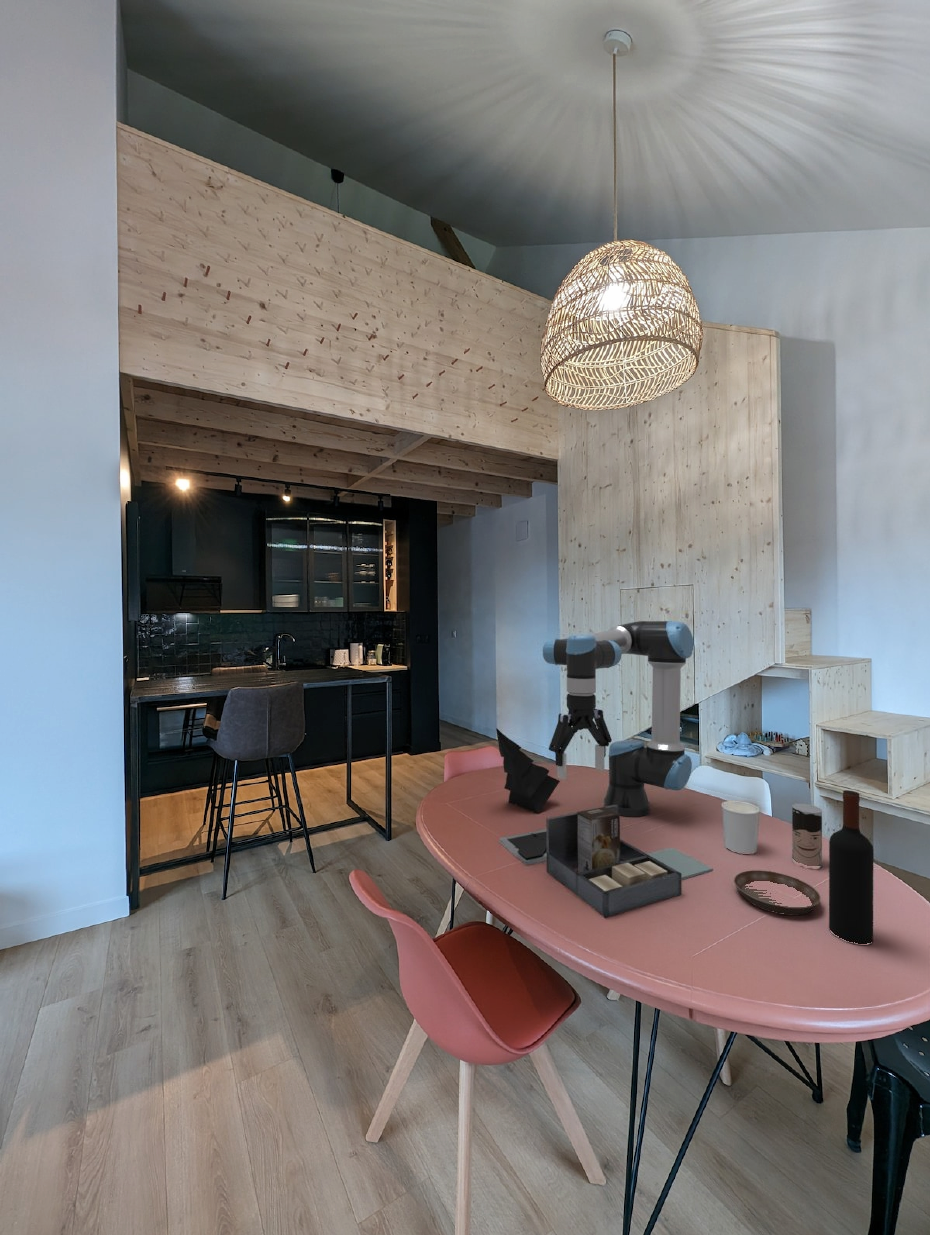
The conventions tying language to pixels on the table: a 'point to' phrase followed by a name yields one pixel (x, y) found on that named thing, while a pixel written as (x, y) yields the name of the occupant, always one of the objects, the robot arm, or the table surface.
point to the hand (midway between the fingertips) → (581, 774)
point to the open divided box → (603, 871)
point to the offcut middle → (627, 874)
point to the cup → (807, 834)
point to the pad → (680, 862)
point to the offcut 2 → (651, 870)
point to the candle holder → (740, 826)
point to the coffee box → (598, 838)
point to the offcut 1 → (605, 883)
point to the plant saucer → (764, 903)
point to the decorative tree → (524, 777)
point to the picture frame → (527, 846)
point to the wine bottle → (851, 877)
